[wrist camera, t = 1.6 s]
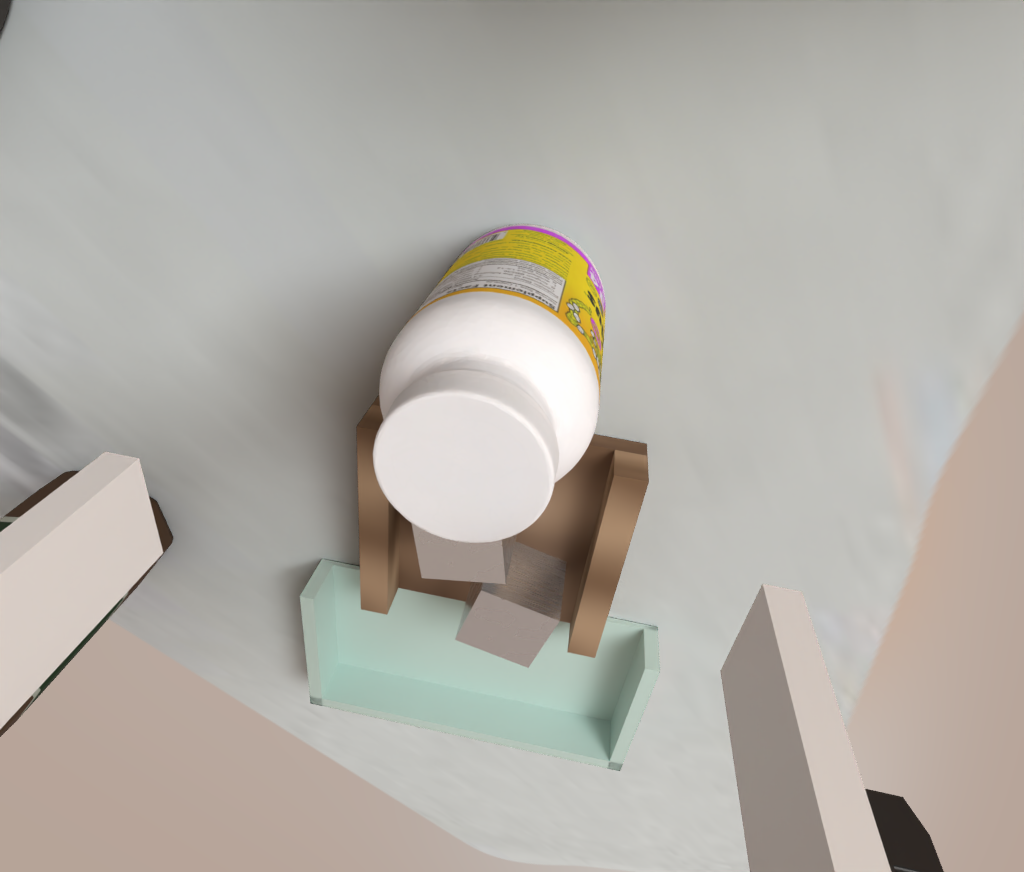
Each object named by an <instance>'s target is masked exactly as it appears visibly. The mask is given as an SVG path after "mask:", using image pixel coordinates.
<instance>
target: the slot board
mask: <svg viewBox="0 0 1024 872" xmlns="http://www.w3.org/2000/svg"><path fill="white" fill-rule="evenodd" d="M383 420H384V419H383V415H382V412H381V408H380V399H379V395H378V397H377V398H376V400H375V401H374V403H373V404H372V405H371V407H370V408H369V410H368V411H367V412H366V414H365V415H364V417H363V418H362V420H361V421H360V422H359V424H358V425H357V467H358V510H359V553H360V597H361V609H362V610H367V611H371V612H376V613H381V614H386V615H387V614H388V612H389V609H390V607H391V605H392V602H393V600H394V597H395V595H396V593H397V590H398V588H401V589H406V590H411V591H416V592H421V593H426V594H430V595H435V596H440V597H445V598H450V599H455V600H460V601H465V602H466V599H467V596H468V592H469V589H470V585H471V582H469V581H455V580H441V579H427V578H422V577H421V571H420V566H419V561H418V555H417V550H416V545H415V539H414V534H413V529H412V523H411V522H410V521H408V520H407V519H406V518H405V517H404V516H403V515H402V514H400V513H399V512H398V511H397V510H396V509H395V508H394V507H393V505H392V504H391V503H390V502H389V500H388V499H387V498H386V496H385V494H384V493H383V491H382V490H381V488H380V485H379V483H378V481H377V478H376V474H375V471H374V465H373V447H374V441H375V438H376V435H377V432H378V430H379V428H380V425H381V424H382V422H383ZM648 483H649V478H648V458H647V444H644V443H639V442H633V441H628V440H623V439H617V438H612V437H606V436H601V435H595V434H593V437H592V439H591V442H590V444H589V446H588V448H587V449H586V451H585V453H584V454H583V456H582V457H581V459H580V460H579V461H578V463H577V464H576V465H575V466H574V467H573V468H572V469H571V470H570V471H569V472H568V473H567V474H566V475H565V476H563V477H562V478H561V479H560V480H558V481H557V482H555V483H554V489H553V492H552V496H551V499H550V501H549V503H548V505H547V507H546V508H545V510H544V512H543V513H542V514H541V515H540V517H539V518H538V519H537V520H536V521H535V522H534V523H533V524H532V525H530V526H529V527H528V528H526V529H525V530H523V531H522V532H520V533H518V534H517V536H516V540H515V541H516V542H519V543H521V544H524V545H526V546H529V547H531V548H534V549H536V550H539V551H541V552H544V553H546V554H549V555H551V556H554V557H556V558H559V559H561V560H564V561H566V571H565V580H564V589H563V597H562V606H561V615H560V621H562V622H567V623H570V630H569V641H568V651H567V652H568V653H573V654H578V655H583V656H588V657H592V658H595V656H596V653H597V650H598V647H599V643H600V640H601V637H602V633H603V630H604V627H605V624H606V620H607V617H608V614H609V610H610V607H611V604H612V601H613V597H614V594H615V591H616V587H617V584H618V581H619V578H620V574H621V571H622V568H623V565H624V561H625V558H626V555H627V551H628V548H629V545H630V542H631V538H632V535H633V532H634V528H635V525H636V522H637V519H638V515H639V512H640V509H641V505H642V502H643V499H644V496H645V492H646V489H647V486H648Z"/></svg>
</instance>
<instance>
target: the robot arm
mask: <svg viewBox="0 0 1024 872" xmlns="http://www.w3.org/2000/svg"><path fill="white" fill-rule="evenodd" d="M9 4H10V0H0V31H1V29H2V27H3V24H4V21H5V18H6V15H7V12H8V8H9ZM162 554H163V550H162V546H161V542H160V538H159V534H158V530H157V526H156V522H155V518H154V514H153V511H152V507H151V503H150V499H149V495H148V491H147V487H146V483H145V479H144V475H143V471H142V467H141V464H140V460H139V458H135V457H130V456H125V455H120V454H115V453H110V452H104V453H103V454H102V455H100V456H99V457H98V458H96V459H95V460H94V461H92V462H91V463H90V464H89V465H87V466H86V467H85V468H83V469H82V470H81V471H79V472H78V473H77V474H76V475H74V476H73V477H72V478H70V479H69V480H68V481H66V482H65V483H64V484H62V485H61V486H60V487H59V488H57V489H56V490H55V491H53V492H52V493H51V494H49V495H48V496H47V497H46V498H44V499H43V500H42V501H40V502H39V503H38V504H36V505H35V506H34V507H33V508H31V509H30V510H29V511H27V512H26V513H25V514H23V515H22V516H21V517H19V518H18V519H17V520H16V521H14V522H13V523H12V524H10V525H9V526H8V527H6V528H5V529H4V530H3V531H1V532H0V729H1V728H2V727H3V726H4V725H5V724H6V723H7V721H8V720H9V719H10V718H11V717H12V716H13V715H14V714H15V713H16V712H17V711H18V710H19V708H20V707H21V706H22V705H23V704H24V703H25V702H26V701H27V700H28V699H29V698H30V697H31V696H32V694H33V693H34V692H35V691H36V690H37V689H38V688H39V687H40V686H41V685H42V684H43V683H44V681H45V680H46V679H47V678H48V677H49V676H50V675H51V674H52V673H53V672H54V671H55V670H56V669H57V667H58V666H59V665H60V664H61V663H62V662H63V661H64V660H65V659H66V658H67V657H68V656H69V654H70V653H71V652H72V651H73V650H74V649H75V648H76V647H77V646H78V645H79V644H80V643H81V641H82V640H83V639H84V638H85V637H86V636H87V635H88V634H89V633H90V632H91V631H92V630H93V629H94V627H95V626H96V625H97V624H98V623H99V622H100V621H101V620H102V619H103V618H104V617H105V616H106V614H107V613H108V612H109V611H110V610H111V609H112V608H113V607H114V606H115V605H116V604H117V603H118V602H119V600H120V599H121V598H122V597H123V596H124V595H125V594H126V593H127V592H128V591H129V590H130V589H131V587H132V586H133V585H134V584H135V583H136V582H137V581H138V580H139V579H140V578H141V577H142V576H143V574H144V573H145V572H146V571H147V570H148V569H149V568H150V567H151V566H152V565H153V564H154V563H155V562H156V560H157V559H158V558H159V557H160V556H161V555H162ZM721 678H722V685H723V691H724V698H725V705H726V712H727V719H728V725H729V732H730V739H731V746H732V753H733V759H734V766H735V773H736V780H737V787H738V793H739V800H740V807H741V814H742V821H743V827H744V834H745V841H746V848H747V855H748V861H749V868H750V872H944V871H943V869H942V866H941V864H940V861H939V858H938V856H937V853H936V850H935V848H934V845H933V843H932V840H931V837H930V835H929V834H928V832H927V831H926V830H925V828H924V827H923V825H922V824H921V822H920V821H919V820H918V818H917V817H916V815H915V814H914V812H913V811H912V810H911V808H910V807H909V805H908V804H907V803H906V801H905V800H904V798H903V797H900V796H895V795H891V794H886V793H882V792H877V791H873V790H868V789H865V787H864V785H863V782H862V779H861V775H860V772H859V769H858V766H857V762H856V759H855V756H854V753H853V750H852V747H851V744H850V741H849V737H848V734H847V731H846V728H845V725H844V722H843V719H842V715H841V712H840V709H839V706H838V703H837V700H836V697H835V693H834V690H833V687H832V684H831V681H830V678H829V675H828V672H827V668H826V665H825V662H824V659H823V656H822V653H821V650H820V646H819V643H818V640H817V637H816V634H815V631H814V628H813V625H812V621H811V618H810V615H809V612H808V609H807V606H806V603H805V599H804V596H803V593H802V592H801V591H796V590H791V589H786V588H781V587H776V586H771V585H766V584H762V586H761V588H760V590H759V593H758V595H757V597H756V599H755V601H754V603H753V605H752V607H751V609H750V611H749V613H748V615H747V617H746V619H745V621H744V624H743V626H742V628H741V630H740V632H739V634H738V636H737V638H736V640H735V642H734V644H733V646H732V648H731V650H730V652H729V655H728V657H727V659H726V661H725V663H724V665H723V667H722V669H721Z"/></svg>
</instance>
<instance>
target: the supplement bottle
mask: <svg viewBox="0 0 1024 872" xmlns="http://www.w3.org/2000/svg"><path fill="white" fill-rule="evenodd" d="M604 328H605V294H604V288H603V284H602V281H601V278H600V275H599V273H598V271H597V269H596V267H595V265H594V263H593V262H592V260H591V259H590V257H589V256H588V255H587V254H586V252H585V251H584V250H583V249H582V248H581V247H580V246H579V245H578V244H577V243H575V242H574V241H573V240H571V239H570V238H569V237H567V236H565V235H564V234H562V233H560V232H558V231H556V230H553V229H551V228H548V227H544V226H539V225H531V224H515V225H508V226H504V227H500V228H497V229H494V230H492V231H490V232H488V233H486V234H484V235H483V236H481V237H479V238H478V239H477V240H475V241H474V242H473V243H472V244H471V245H469V246H468V248H467V249H466V250H465V251H464V252H463V253H462V254H461V255H460V256H459V257H458V259H457V260H456V261H455V263H454V264H453V265H452V266H451V267H450V269H449V270H448V271H447V273H446V274H445V275H444V277H443V278H442V279H441V281H440V282H439V283H438V284H437V286H436V287H435V288H434V290H433V291H432V292H431V294H430V295H429V296H428V297H427V299H426V300H425V301H424V303H423V304H422V305H421V306H420V308H419V309H418V310H417V311H416V312H415V314H414V315H413V316H412V317H411V319H410V320H409V321H408V322H407V323H406V325H405V326H404V327H403V329H402V330H401V331H400V333H399V334H398V335H397V337H396V338H395V340H394V341H393V343H392V345H391V347H390V348H389V351H388V353H387V355H386V358H385V360H384V363H383V367H382V371H381V375H380V385H379V399H380V408H381V412H382V415H383V419H384V420H383V422H382V424H381V425H380V428H379V430H378V432H377V435H376V438H375V441H374V447H373V465H374V471H375V474H376V478H377V481H378V483H379V485H380V488H381V490H382V491H383V493H384V494H385V496H386V498H387V499H388V500H389V502H390V503H391V504H392V505H393V507H394V508H395V509H396V510H397V511H398V512H399V513H400V514H402V515H403V516H404V517H405V518H406V519H407V520H408V521H410V522H411V523H413V524H414V525H416V526H417V527H419V528H421V529H423V530H425V531H427V532H429V533H431V534H433V535H436V536H439V537H442V538H445V539H449V540H454V541H459V542H469V543H482V542H493V541H498V540H502V539H505V538H509V537H511V536H513V535H516V534H518V533H520V532H522V531H523V530H525V529H526V528H528V527H529V526H530V525H532V524H533V523H534V522H535V521H536V520H537V519H538V518H539V517H540V515H541V514H542V513H543V512H544V510H545V508H546V507H547V505H548V503H549V501H550V499H551V496H552V492H553V489H554V483H555V482H557V481H558V480H560V479H561V478H562V477H563V476H565V475H566V474H567V473H568V472H569V471H570V470H571V469H572V468H573V467H574V466H575V465H576V464H577V463H578V461H579V460H580V459H581V457H582V456H583V454H584V453H585V451H586V449H587V448H588V446H589V444H590V442H591V439H592V437H593V434H594V431H595V427H596V424H597V419H598V411H599V401H600V382H601V369H602V356H603V342H604Z"/></svg>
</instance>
